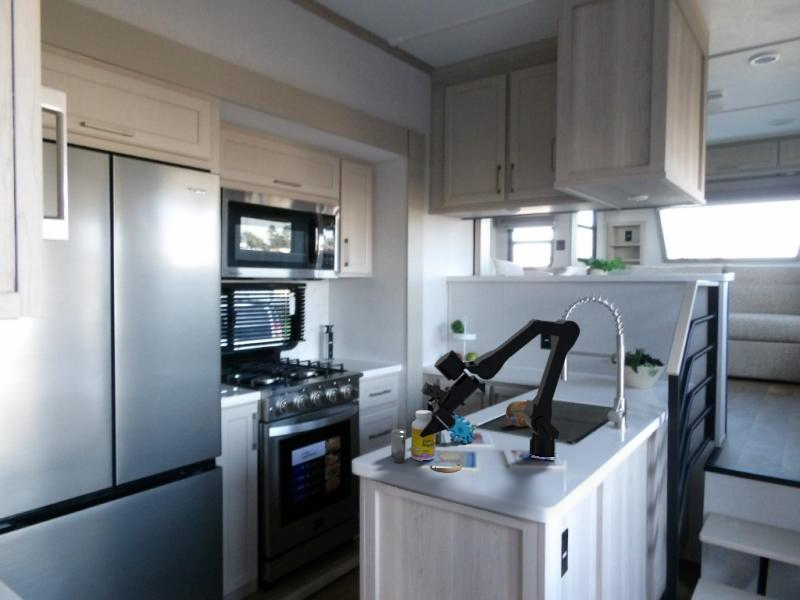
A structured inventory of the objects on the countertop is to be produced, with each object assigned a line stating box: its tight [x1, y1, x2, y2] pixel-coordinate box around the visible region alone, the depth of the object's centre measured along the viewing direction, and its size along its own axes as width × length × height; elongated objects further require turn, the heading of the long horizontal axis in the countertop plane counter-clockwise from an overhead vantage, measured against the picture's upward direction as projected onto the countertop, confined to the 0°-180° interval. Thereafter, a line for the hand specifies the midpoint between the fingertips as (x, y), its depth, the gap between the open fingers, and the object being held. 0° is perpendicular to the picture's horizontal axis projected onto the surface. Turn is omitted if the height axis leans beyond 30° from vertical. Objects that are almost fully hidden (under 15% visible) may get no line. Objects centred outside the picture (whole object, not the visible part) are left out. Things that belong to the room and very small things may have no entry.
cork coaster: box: [431, 464, 462, 473], centre depth 151 cm, size 8×8×1 cm
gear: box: [445, 414, 477, 444], centre depth 177 cm, size 11×6×10 cm
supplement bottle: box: [410, 409, 436, 462], centre depth 158 cm, size 7×7×13 cm
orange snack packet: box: [505, 399, 533, 428], centre depth 196 cm, size 15×3×8 cm, turn 114°
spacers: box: [390, 428, 443, 464], centre depth 165 cm, size 10×24×7 cm, turn 159°
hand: (419, 431), depth 158 cm, fingers open, 9 cm apart
